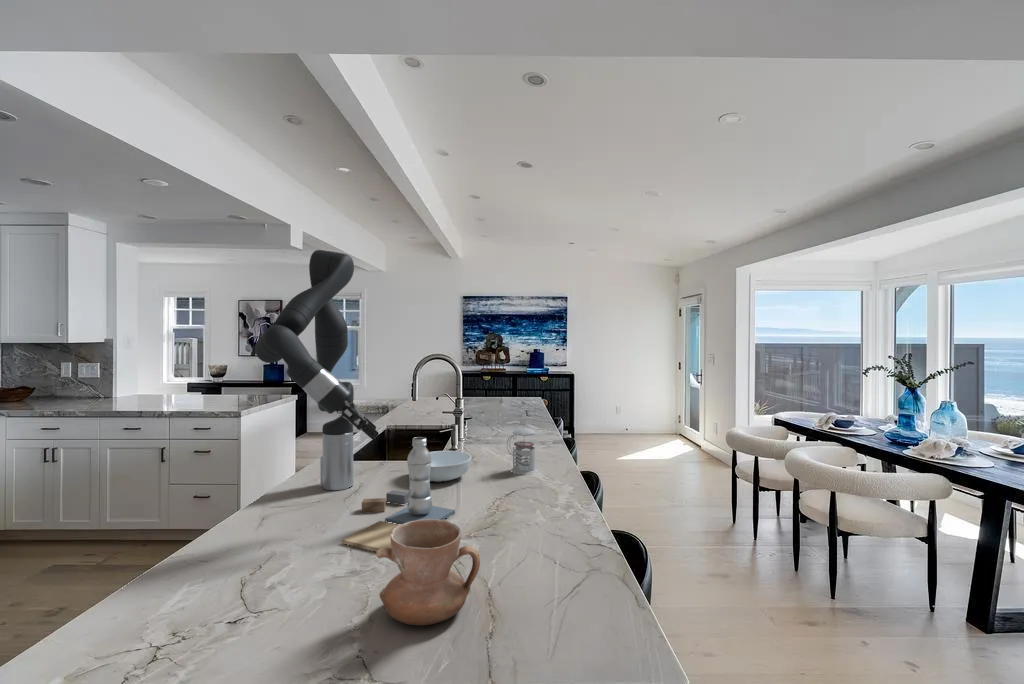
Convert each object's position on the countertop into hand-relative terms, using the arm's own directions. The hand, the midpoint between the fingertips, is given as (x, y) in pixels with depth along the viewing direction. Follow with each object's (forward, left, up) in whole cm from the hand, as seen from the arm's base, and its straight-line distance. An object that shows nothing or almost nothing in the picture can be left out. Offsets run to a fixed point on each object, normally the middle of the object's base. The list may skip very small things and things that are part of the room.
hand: (375, 433), depth 129 cm
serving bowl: (-8, +41, -23) cm, 48 cm away
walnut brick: (-7, +7, -23) cm, 25 cm away
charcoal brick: (-5, +15, -23) cm, 28 cm away
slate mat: (+8, +8, -23) cm, 26 cm away
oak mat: (+8, -7, -23) cm, 25 cm away
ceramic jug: (+36, -28, -23) cm, 51 cm away
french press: (+13, +61, -23) cm, 67 cm away
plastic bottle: (+8, +8, -22) cm, 25 cm away
